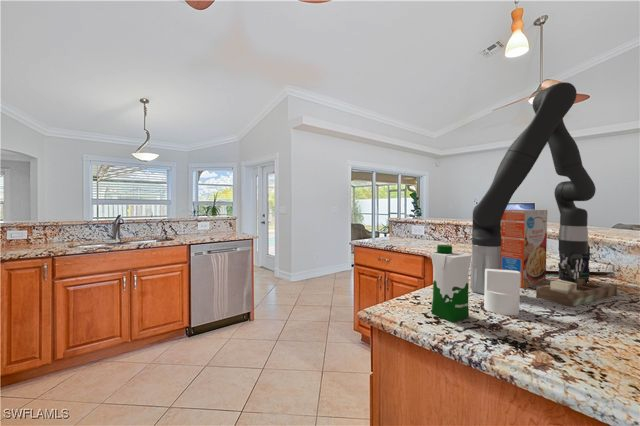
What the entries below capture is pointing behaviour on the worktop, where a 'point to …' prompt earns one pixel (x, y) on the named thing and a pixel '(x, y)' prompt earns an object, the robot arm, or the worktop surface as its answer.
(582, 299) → the trap track
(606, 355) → the worktop surface
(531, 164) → the robot arm
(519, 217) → the orange cereal box
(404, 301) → the worktop surface
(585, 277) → the storage jar
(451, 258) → the milk carton
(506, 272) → the base with upright slab
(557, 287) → the maple block
